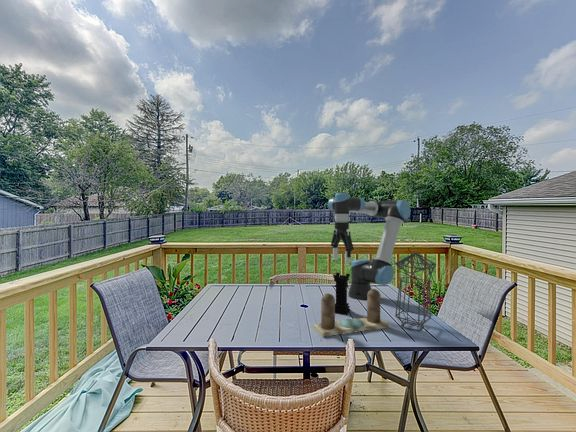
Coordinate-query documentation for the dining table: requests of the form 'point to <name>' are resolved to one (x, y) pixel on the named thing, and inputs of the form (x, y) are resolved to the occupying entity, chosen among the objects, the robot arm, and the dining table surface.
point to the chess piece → (341, 294)
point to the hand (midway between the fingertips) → (341, 261)
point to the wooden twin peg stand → (349, 325)
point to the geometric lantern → (419, 288)
